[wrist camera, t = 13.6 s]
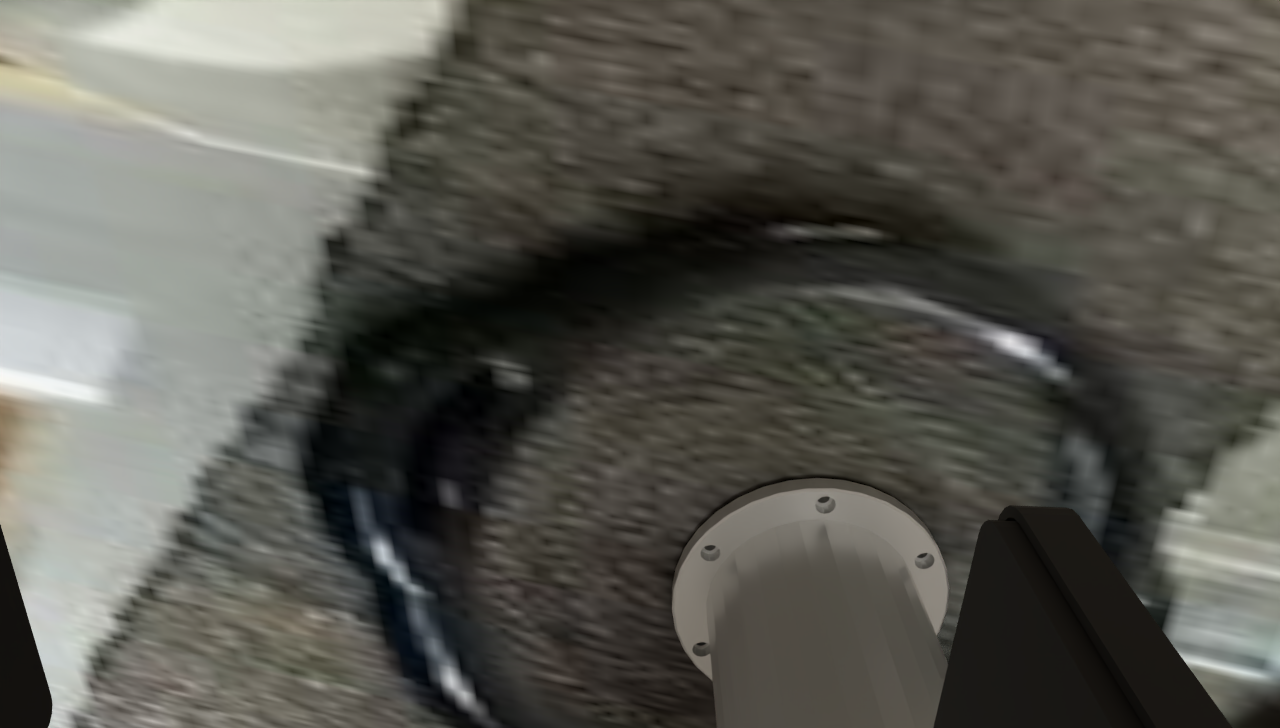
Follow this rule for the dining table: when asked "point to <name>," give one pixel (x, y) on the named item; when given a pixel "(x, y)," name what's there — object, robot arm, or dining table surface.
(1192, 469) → the dining table surface
